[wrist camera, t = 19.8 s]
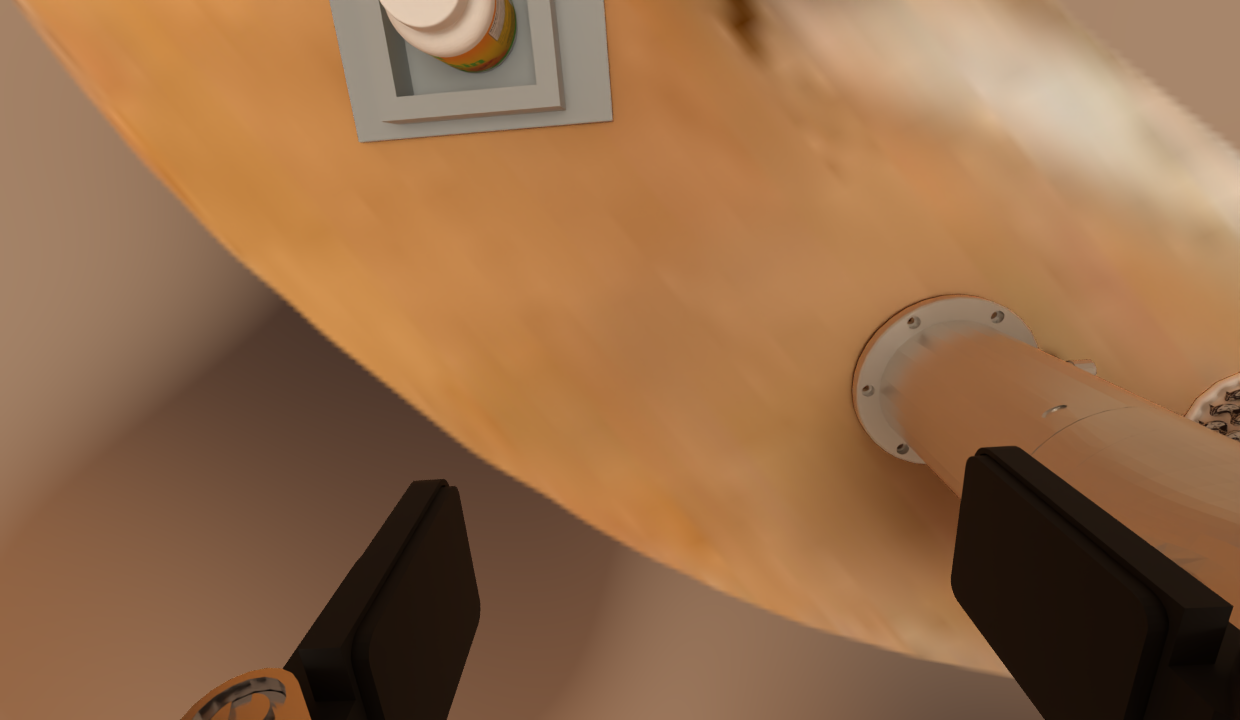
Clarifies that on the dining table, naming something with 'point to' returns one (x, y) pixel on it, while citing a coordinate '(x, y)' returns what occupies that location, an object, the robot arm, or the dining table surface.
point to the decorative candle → (1219, 407)
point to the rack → (476, 74)
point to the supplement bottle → (457, 30)
